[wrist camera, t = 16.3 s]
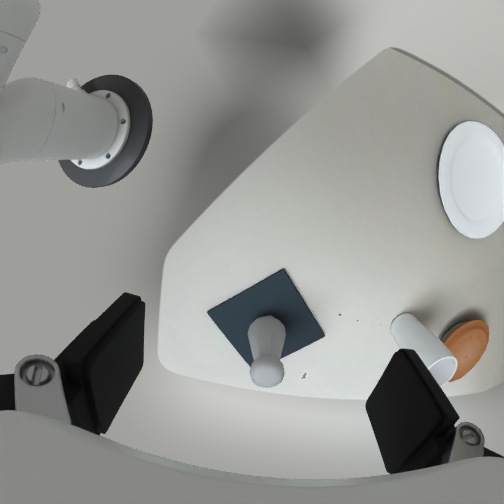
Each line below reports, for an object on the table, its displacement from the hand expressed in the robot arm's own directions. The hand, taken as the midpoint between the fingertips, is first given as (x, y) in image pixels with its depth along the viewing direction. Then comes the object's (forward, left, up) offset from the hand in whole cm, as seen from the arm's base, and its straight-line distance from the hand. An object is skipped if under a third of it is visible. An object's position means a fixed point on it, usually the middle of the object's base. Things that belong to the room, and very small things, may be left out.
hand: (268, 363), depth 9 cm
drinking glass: (+29, +11, -32) cm, 45 cm away
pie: (+43, +21, -32) cm, 58 cm away
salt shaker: (+15, -9, -32) cm, 36 cm away
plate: (+13, +36, -32) cm, 50 cm away
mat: (+15, -9, -32) cm, 37 cm away
